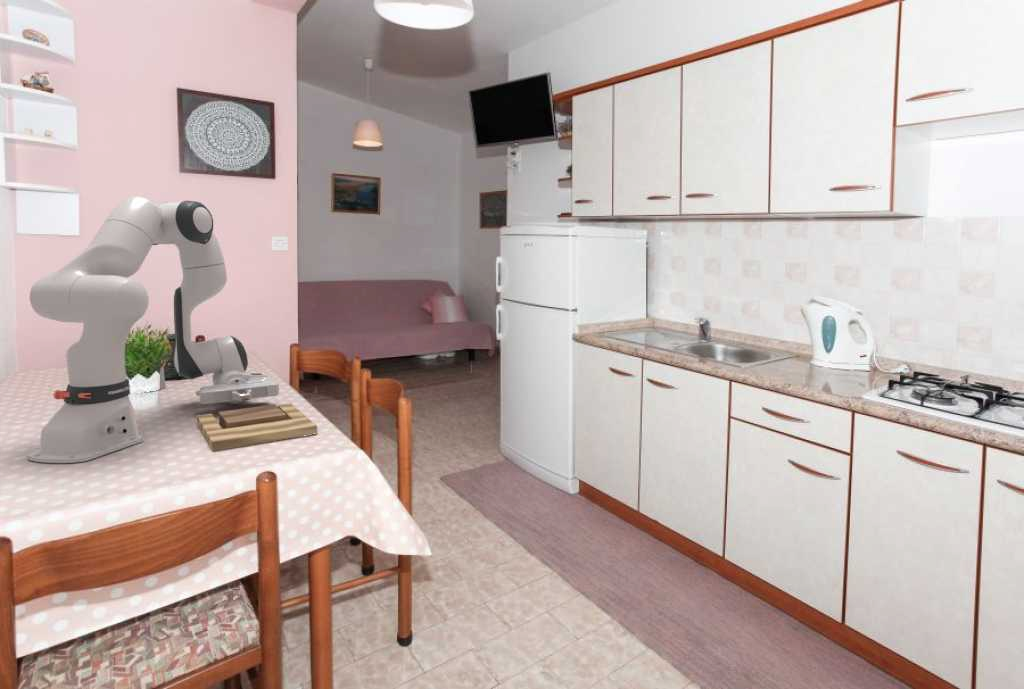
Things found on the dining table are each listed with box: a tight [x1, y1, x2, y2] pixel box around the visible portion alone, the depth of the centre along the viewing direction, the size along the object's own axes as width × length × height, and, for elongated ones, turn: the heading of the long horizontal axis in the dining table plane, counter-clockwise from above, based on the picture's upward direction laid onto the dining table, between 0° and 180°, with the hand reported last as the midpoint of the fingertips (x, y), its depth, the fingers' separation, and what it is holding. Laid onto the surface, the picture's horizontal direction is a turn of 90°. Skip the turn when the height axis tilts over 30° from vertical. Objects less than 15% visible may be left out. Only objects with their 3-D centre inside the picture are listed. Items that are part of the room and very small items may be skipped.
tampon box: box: [164, 333, 189, 382], centre depth 210 cm, size 11×9×15 cm
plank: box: [218, 404, 287, 429], centre depth 157 cm, size 4×14×12 cm
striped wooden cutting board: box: [196, 402, 318, 452], centre depth 154 cm, size 25×24×2 cm
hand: (244, 397), depth 163 cm, fingers closed
